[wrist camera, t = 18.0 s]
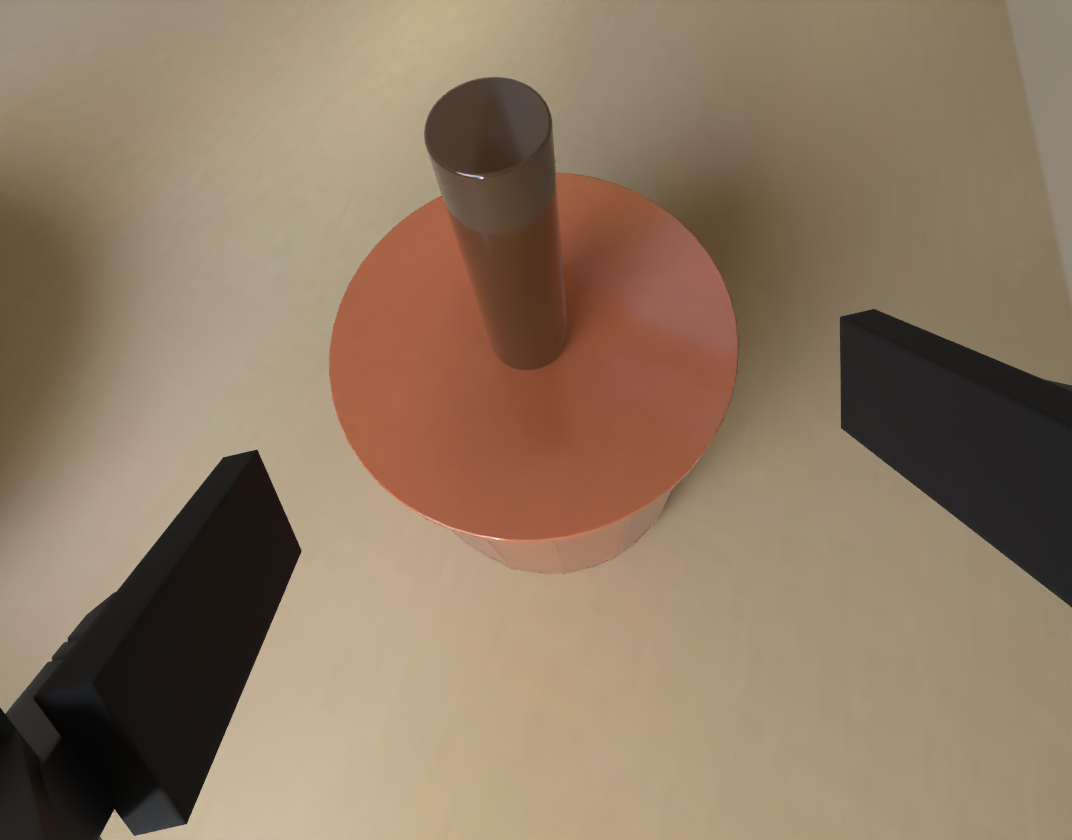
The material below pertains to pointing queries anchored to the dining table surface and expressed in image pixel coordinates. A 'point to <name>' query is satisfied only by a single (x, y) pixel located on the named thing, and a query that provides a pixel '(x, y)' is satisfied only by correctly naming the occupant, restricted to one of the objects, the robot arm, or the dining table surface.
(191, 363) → the dining table surface
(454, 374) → the lid
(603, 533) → the jar
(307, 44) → the dining table surface
